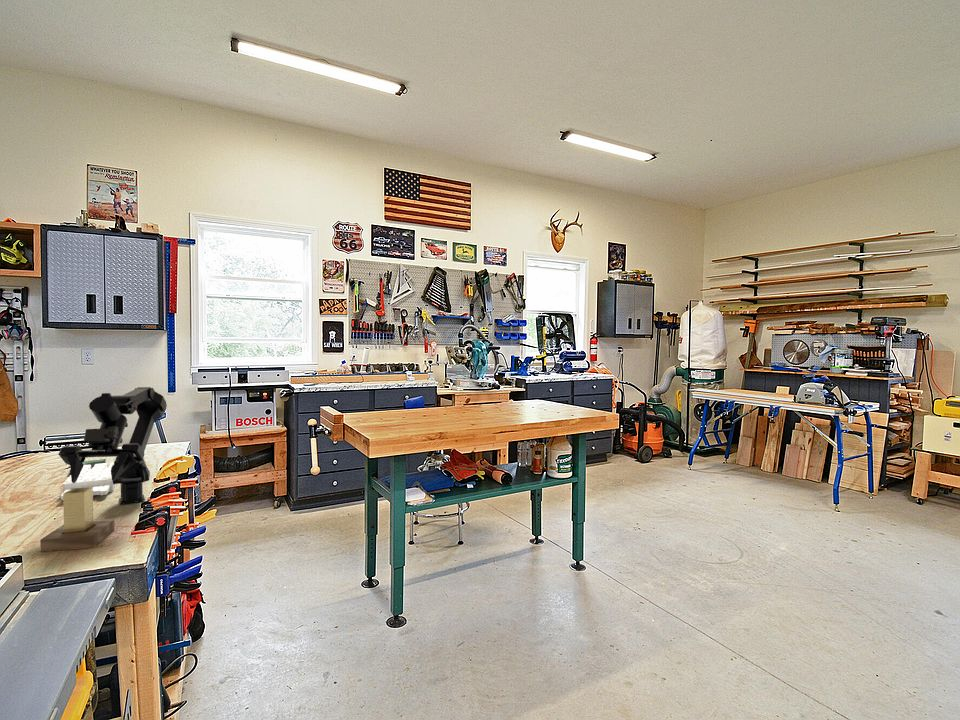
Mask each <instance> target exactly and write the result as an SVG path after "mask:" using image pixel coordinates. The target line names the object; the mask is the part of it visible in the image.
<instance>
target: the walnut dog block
mask: <svg viewBox="0 0 960 720" xmlns="http://www.w3.org/2000/svg"><path fill="white" fill-rule="evenodd" d="M113 532H115V519H106V520H105V519H103V520H94V527H93V528H92V529H90V530H89V531H88V532H83V533H70V534H64V524H62V525H60V526H59V527H58V528H56V529H55V530H53V531H51V532H50V533H49V534H47V535H45V536H44V537H42V538H41V539H40V541H39V543H40V546H39V547H40V552H41V551H46V552H51V551H50V550H57V551H65V550H64V549H68V550H76V549H77V550H79V549H89V548H95V547H96V546H97V545H99V543H101V542H102V541H103V540H105V539H106V538H108V536H110V535H111V534H112V533H113Z"/></svg>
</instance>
